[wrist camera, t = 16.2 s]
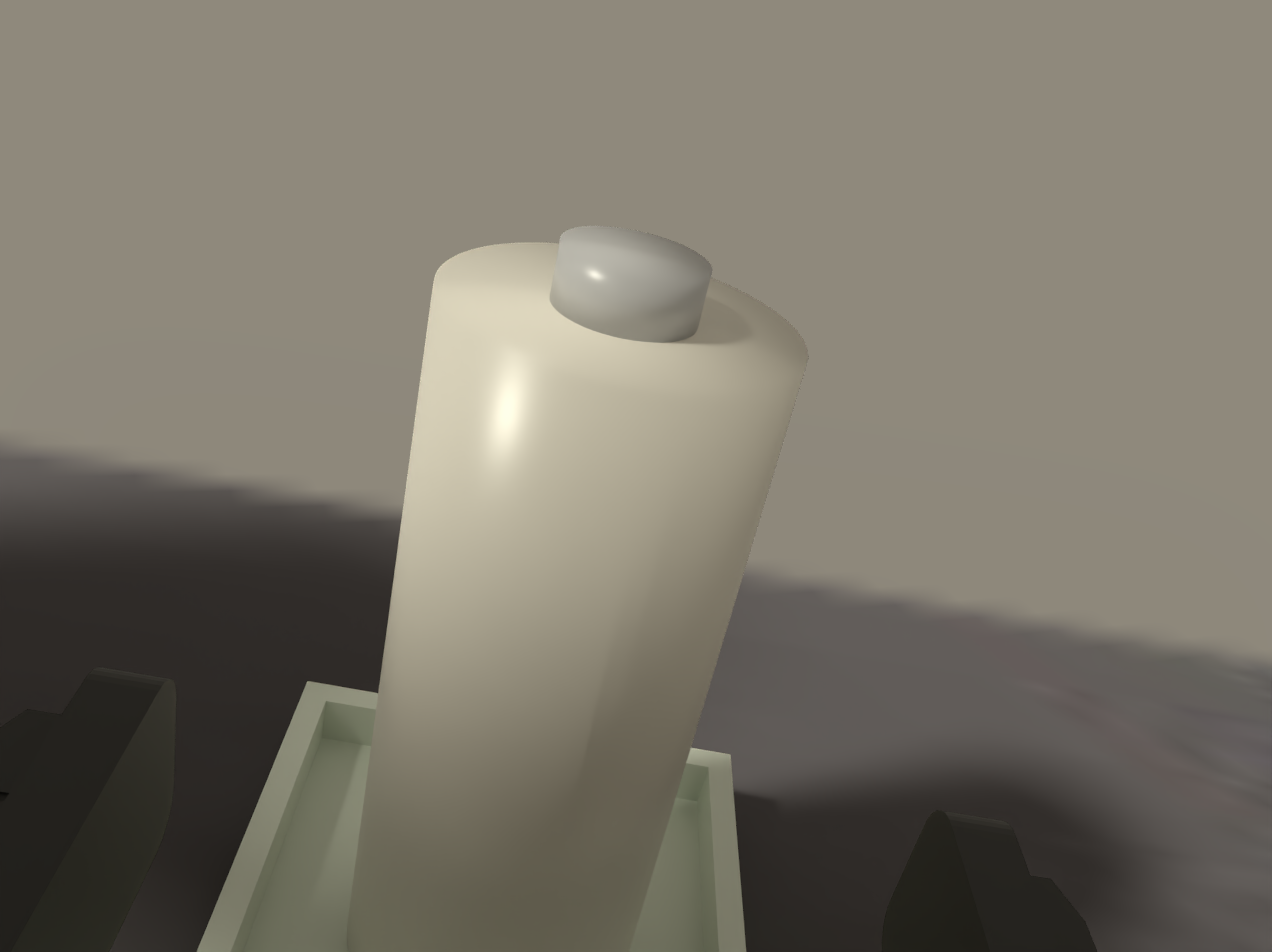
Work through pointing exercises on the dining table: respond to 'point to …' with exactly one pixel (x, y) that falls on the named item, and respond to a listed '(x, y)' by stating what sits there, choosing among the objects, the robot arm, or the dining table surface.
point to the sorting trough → (330, 825)
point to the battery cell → (561, 586)
